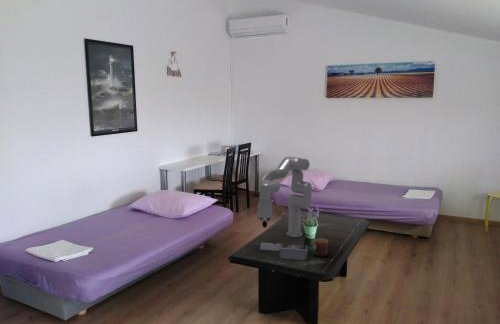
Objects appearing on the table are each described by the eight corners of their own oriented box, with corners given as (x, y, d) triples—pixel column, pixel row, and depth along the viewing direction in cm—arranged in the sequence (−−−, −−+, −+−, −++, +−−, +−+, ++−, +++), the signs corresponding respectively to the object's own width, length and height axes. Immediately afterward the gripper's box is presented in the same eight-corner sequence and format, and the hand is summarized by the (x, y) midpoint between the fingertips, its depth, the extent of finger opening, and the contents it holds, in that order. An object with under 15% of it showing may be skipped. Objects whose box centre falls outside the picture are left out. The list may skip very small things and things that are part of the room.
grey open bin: (280, 252, 273) (280, 242, 272) (307, 253, 270) (307, 244, 268) (278, 258, 262) (278, 248, 260) (306, 260, 258) (306, 250, 257)
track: (259, 248, 278) (259, 248, 278) (280, 250, 276) (280, 250, 276) (259, 250, 275) (259, 250, 275) (279, 251, 273) (279, 251, 273)
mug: (324, 252, 273) (325, 238, 271) (329, 257, 264) (330, 242, 262) (308, 253, 270) (308, 239, 269) (312, 258, 262) (313, 243, 260)
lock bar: (260, 248, 278) (261, 240, 277) (280, 249, 275) (280, 242, 274) (260, 249, 276) (260, 241, 275) (279, 251, 273) (280, 243, 272)
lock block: (289, 253, 271) (289, 244, 270) (298, 253, 270) (298, 245, 269) (288, 257, 263) (288, 249, 262) (297, 258, 262) (297, 249, 261)
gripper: (276, 200, 271) (276, 226, 274) (254, 199, 273) (254, 225, 276) (275, 203, 264) (275, 229, 267) (253, 202, 266) (253, 228, 269)
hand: (264, 227), depth 271 cm, fingers closed
